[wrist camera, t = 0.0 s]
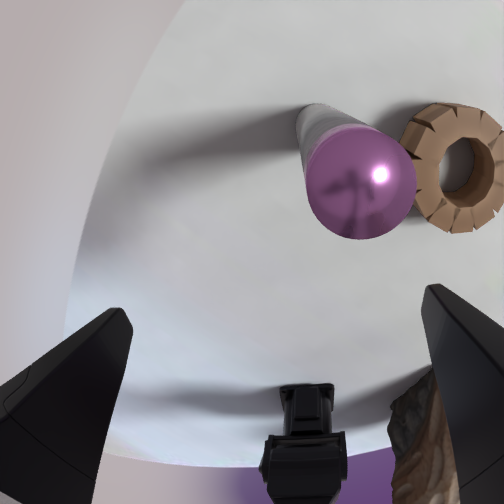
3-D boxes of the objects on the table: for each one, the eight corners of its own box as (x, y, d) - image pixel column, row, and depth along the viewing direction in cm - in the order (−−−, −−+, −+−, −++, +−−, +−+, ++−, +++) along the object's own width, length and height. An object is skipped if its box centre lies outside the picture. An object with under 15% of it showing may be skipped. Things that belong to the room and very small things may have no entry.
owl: (478, 382, 32) (510, 497, 15) (413, 423, 38) (428, 531, 21) (445, 356, 29) (486, 507, 12) (369, 406, 35) (378, 542, 18)
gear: (486, 212, 20) (504, 228, 17) (397, 219, 21) (409, 237, 19) (492, 107, 15) (514, 113, 13) (393, 101, 17) (409, 104, 14)
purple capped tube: (344, 146, 19) (414, 234, 8) (299, 151, 20) (312, 244, 9) (339, 101, 18) (416, 128, 7) (292, 106, 18) (299, 135, 7)
